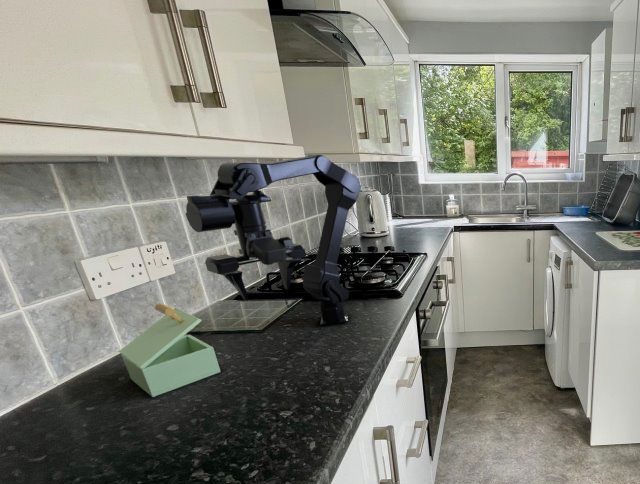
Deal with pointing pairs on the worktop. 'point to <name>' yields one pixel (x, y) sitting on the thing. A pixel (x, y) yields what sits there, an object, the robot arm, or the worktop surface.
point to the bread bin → (175, 366)
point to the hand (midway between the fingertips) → (267, 294)
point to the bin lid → (159, 335)
